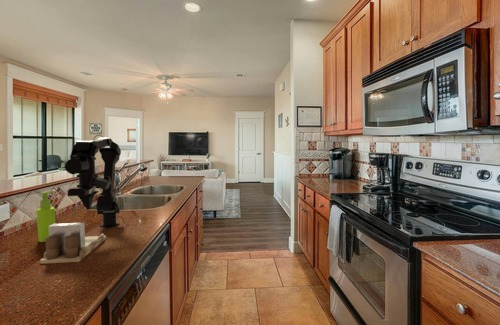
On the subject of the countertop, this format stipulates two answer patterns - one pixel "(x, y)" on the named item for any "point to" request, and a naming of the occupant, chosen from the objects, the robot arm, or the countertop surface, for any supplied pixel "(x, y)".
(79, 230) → the white square slab
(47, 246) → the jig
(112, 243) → the countertop surface
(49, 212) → the soap dispenser
